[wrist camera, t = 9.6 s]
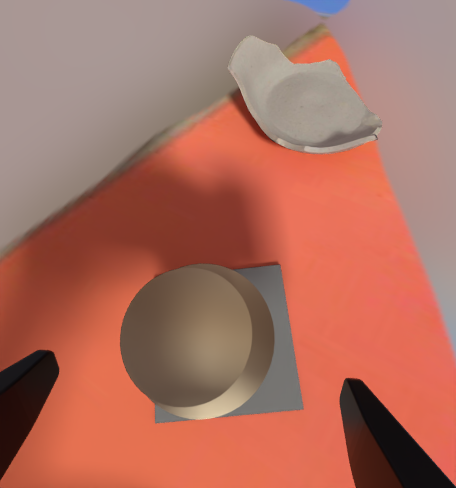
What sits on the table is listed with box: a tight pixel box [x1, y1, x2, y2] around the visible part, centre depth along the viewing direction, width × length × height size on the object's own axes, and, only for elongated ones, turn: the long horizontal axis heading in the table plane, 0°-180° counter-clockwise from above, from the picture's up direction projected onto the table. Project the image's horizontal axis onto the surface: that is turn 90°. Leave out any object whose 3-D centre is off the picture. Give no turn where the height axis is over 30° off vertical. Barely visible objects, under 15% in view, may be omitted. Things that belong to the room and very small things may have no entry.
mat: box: [155, 265, 304, 423], centre depth 19 cm, size 9×9×1 cm
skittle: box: [120, 264, 275, 420], centre depth 13 cm, size 5×5×12 cm
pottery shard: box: [228, 36, 382, 154], centre depth 22 cm, size 10×11×5 cm
